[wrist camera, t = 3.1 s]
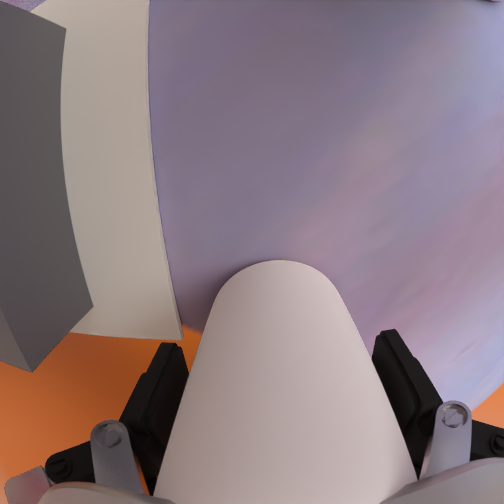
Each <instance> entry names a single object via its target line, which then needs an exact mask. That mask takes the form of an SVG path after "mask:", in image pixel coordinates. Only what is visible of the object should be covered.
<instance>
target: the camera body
mask: <svg viewBox="0 0 504 504" xmlns="http://www.w3.org/2000/svg"><path fill="white" fill-rule="evenodd" d="M66 30H67V29H66V28H64V27H62V26H60V25H58V24H56V23H54V22H51V21H49V20H47V19H45V18H43V17H40V16H38V15H36V14H33V13H31V12H28V11H26V10H23V9H21V8H18V7H16V6H13V5H10V4H8V3H5V2H2V1H0V361H2V362H4V363H7V364H9V365H12V366H15V367H17V368H20V369H23V370H26V371H29V372H33V371H34V370H35V369H36V368H37V367H38V366H39V364H40V363H41V362H42V361H43V360H44V359H45V358H46V356H47V355H48V354H49V353H50V352H51V351H52V349H54V348H55V346H56V345H57V344H58V343H59V342H60V341H61V340H62V339H63V338H64V337H65V336H66V335H67V333H68V332H69V331H70V330H71V329H72V328H73V327H74V326H75V325H76V324H77V323H78V322H79V321H80V320H81V319H82V318H83V317H84V316H85V315H86V314H87V313H88V312H89V311H90V310H91V309H92V308H93V307H94V306H93V303H92V299H91V296H90V293H89V290H88V287H87V283H86V280H85V276H84V273H83V269H82V265H81V261H80V257H79V253H78V249H77V245H76V240H75V236H74V231H73V226H72V221H71V215H70V210H69V204H68V197H67V191H66V183H65V175H64V166H63V155H62V140H61V77H62V63H63V52H64V44H65V36H66Z"/></svg>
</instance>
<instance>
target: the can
mask: <svg viewBox="0 0 504 504" xmlns="http://www.w3.org/2000/svg"><path fill="white" fill-rule="evenodd" d="M416 481H418V480H417V476H416V473H415V470H414V467H413V464H412V461H411V458H410V455H409V452H408V449H407V446H406V443H405V441H404V438H403V435H402V433H401V430H400V427H399V425H398V422H397V420H396V417H395V414H394V412H393V409H392V407H391V405H390V402H389V400H388V397H387V395H386V392H385V390H384V388H383V385H382V383H381V381H380V378H379V376H378V374H377V371H376V369H375V367H374V365H373V362H372V360H371V358H370V356H369V354H368V351H367V349H366V347H365V345H364V343H363V341H362V338H361V336H360V334H359V332H358V330H357V328H356V326H355V324H354V322H353V320H352V318H351V316H350V314H349V312H348V310H347V308H346V306H345V304H344V302H343V300H342V298H341V296H340V294H339V293H338V291H337V289H336V288H335V286H334V285H333V284H332V282H331V281H330V280H329V279H328V278H327V277H326V276H325V275H323V274H322V273H321V272H319V271H318V270H316V269H314V268H312V267H310V266H308V265H305V264H302V263H299V262H294V261H287V260H272V261H265V262H261V263H257V264H254V265H251V266H249V267H247V268H245V269H243V270H241V271H239V272H238V273H236V274H235V275H234V276H232V277H231V278H230V279H229V280H228V281H227V282H226V283H225V284H224V285H223V287H222V288H221V289H220V291H219V293H218V294H217V296H216V298H215V301H214V303H213V306H212V309H211V311H210V314H209V317H208V320H207V323H206V326H205V329H204V332H203V335H202V338H201V340H200V343H199V346H198V349H197V353H196V356H195V359H194V362H193V365H192V368H191V371H190V374H189V377H188V380H187V383H186V386H185V390H184V393H183V396H182V399H181V402H180V405H179V409H178V412H177V415H176V418H175V421H174V425H173V428H172V431H171V435H170V438H169V441H168V445H167V448H166V451H165V455H164V458H163V462H162V465H161V469H160V472H159V476H158V479H157V483H156V487H155V491H154V495H153V497H158V498H164V499H169V500H171V501H172V502H174V503H176V504H379V503H380V502H382V501H384V500H386V499H387V498H389V497H391V496H392V495H394V494H395V493H396V492H398V491H399V490H400V489H401V488H402V487H404V486H405V485H407V484H410V483H413V482H416Z"/></svg>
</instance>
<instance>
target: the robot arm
mask: <svg viewBox="0 0 504 504" xmlns="http://www.w3.org/2000/svg"><path fill="white" fill-rule="evenodd" d="M492 1H501V0H492ZM371 360H372V362H373V365H374V367H375V369H376V371H377V374H378V376H379V378H380V381H381V383H382V385H383V388H384V390H385V392H386V395H387V397H388V400H389V402H390V405H391V407H392V409H393V412H394V414H395V417H396V420H397V422H398V425H399V427H400V430H401V433H402V435H403V438H404V441H405V443H406V446H407V449H408V452H409V455H410V458H411V461H412V464H413V467H414V470H415V473H416V476H417V480H418V481H416V482H413V483H410V484H407V485H405V486H404V487H402V488H401V489H400V490H399V491H398V492H396V493H395V494H394V495H392V496H391V497H389V498H387V499H386V500H384V501H382V502H380V503H379V504H504V429H503V428H499V427H495V426H492V425H489V424H485V423H482V422H479V421H475V420H472V415H471V411H470V409H469V408H468V407H467V406H466V405H465V404H464V403H462V402H459V401H447V402H445V403H443V401H442V399H441V398H440V396H439V394H438V392H437V391H436V389H435V387H434V386H433V384H432V382H431V381H430V379H429V377H428V376H427V374H426V372H425V371H424V369H423V367H422V366H421V364H420V363H419V361H418V360H417V359H416V358H415V357H413V355H412V354H411V352H410V351H409V349H408V347H407V346H406V344H405V343H404V341H403V340H402V338H401V337H400V335H399V333H398V332H397V331H396V329H391V330H385V331H381V333H380V335H377V336H376V340H375V345H374V350H373V355H372V359H371ZM188 377H189V372H188V368H187V365H186V362H185V358H184V354H183V351H182V348H181V347H178V346H177V344H176V343H165V342H163V343H161V344H160V346H159V348H158V350H157V352H156V354H155V356H154V358H153V360H152V362H151V364H150V366H149V368H148V370H147V372H146V373H143V374H142V375H141V377H140V379H139V380H138V382H137V384H136V386H135V388H134V390H133V392H132V395H131V397H130V398H129V400H128V403H127V405H126V407H125V409H124V411H123V413H122V415H121V417H120V419H119V421H115V420H107V421H103V422H101V423H99V424H97V425H96V426H95V427H94V428H93V430H92V432H91V437H90V439H91V440H90V441H88V442H85V443H82V444H80V445H78V446H75V447H72V448H69V449H67V450H64V451H61V452H58V453H56V454H54V455H51V456H50V457H49V458H48V459H47V461H46V464H45V467H44V468H43V467H42V466H38V467H36V468H34V469H31V470H29V471H27V472H24V473H22V474H20V475H17V476H15V477H12V478H10V479H9V480H8V481H7V482H6V483H5V487H4V489H5V494H6V497H7V500H8V503H9V504H176V503H174V502H172V501H171V500H169V499H164V498H158V497H153V495H154V491H155V487H156V483H157V479H158V476H159V472H160V469H161V465H162V462H163V458H164V455H165V451H166V448H167V445H168V441H169V438H170V435H171V431H172V428H173V425H174V421H175V418H176V415H177V412H178V409H179V405H180V402H181V399H182V396H183V393H184V390H185V386H186V383H187V380H188Z"/></svg>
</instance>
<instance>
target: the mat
mask: <svg viewBox="0 0 504 504" xmlns="http://www.w3.org/2000/svg"><path fill="white" fill-rule="evenodd" d="M149 5H150V0H46V1H45V2H43V3H42V4H40V5H39V6H37V7H36V8H34V9H33V10H32V11H30V12H31V13H33V14H36V15H38V16H40V17H43V18H45V19H47V20H49V21H51V22H54V23H56V24H58V25H60V26H62V27H64V28H66V29H67V30H66V36H65V44H64V52H63V63H62V77H61V140H62V155H63V166H64V175H65V183H66V191H67V197H68V204H69V210H70V215H71V221H72V226H73V231H74V236H75V240H76V245H77V249H78V253H79V257H80V261H81V265H82V269H83V273H84V276H85V280H86V283H87V287H88V290H89V293H90V296H91V299H92V303H93V306H94V307H93V308H92V309H91V310H90V311H89V312H88V313H87V314H86V315H85V316H84V317H83V318H82V319H81V320H80V321H79V322H78V323H77V324H76V325H75V326H74V327H73V328H72V329H71V330H70V331H69V332H72V333H81V334H89V335H100V336H110V337H122V338H138V339H155V340H156V339H157V340H182V339H183V337H184V335H183V330H182V326H181V322H180V318H179V313H178V309H177V305H176V300H175V295H174V291H173V286H172V281H171V276H170V271H169V265H168V260H167V254H166V249H165V243H164V237H163V231H162V224H161V218H160V211H159V203H158V196H157V188H156V180H155V171H154V161H153V151H152V140H151V126H150V110H149V88H148V26H149Z"/></svg>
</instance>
